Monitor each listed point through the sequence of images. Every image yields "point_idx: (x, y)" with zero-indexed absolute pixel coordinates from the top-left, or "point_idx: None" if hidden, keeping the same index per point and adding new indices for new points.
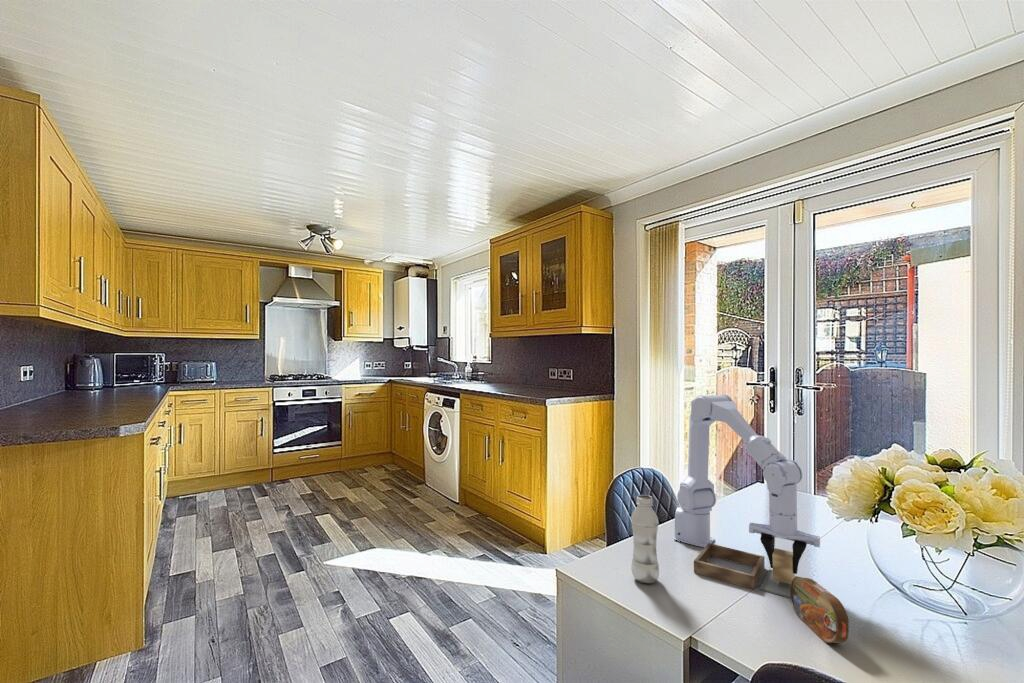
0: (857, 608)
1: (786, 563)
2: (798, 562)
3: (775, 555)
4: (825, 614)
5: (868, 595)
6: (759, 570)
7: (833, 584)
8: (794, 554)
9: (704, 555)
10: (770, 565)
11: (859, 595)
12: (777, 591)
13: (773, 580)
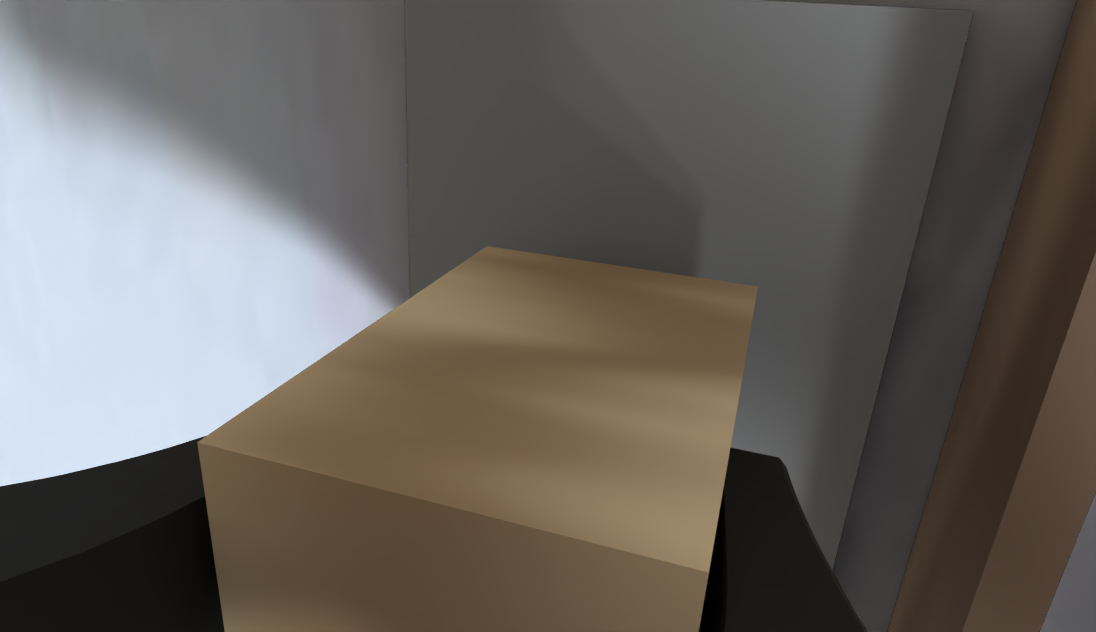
0: (5, 173)
1: (416, 388)
2: (182, 446)
3: (622, 526)
4: None
5: (22, 473)
6: (974, 496)
7: None
8: (67, 535)
9: None
10: (786, 477)
11: (60, 445)
12: (698, 54)
13: (752, 400)
